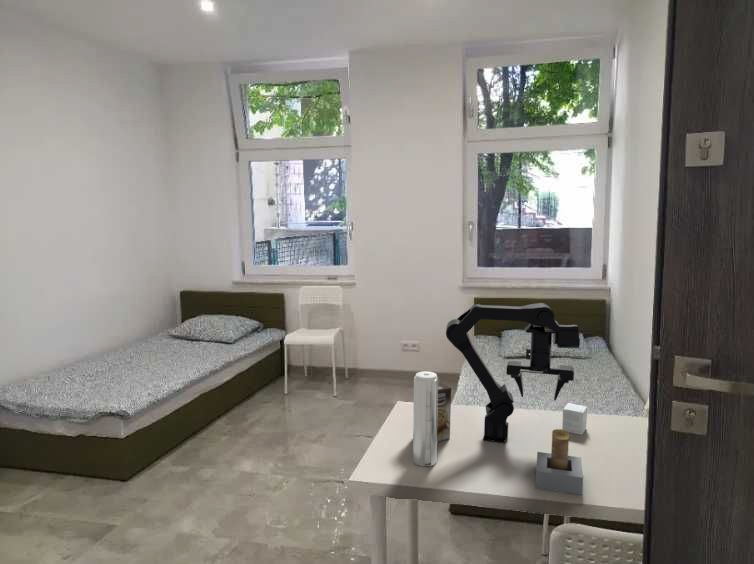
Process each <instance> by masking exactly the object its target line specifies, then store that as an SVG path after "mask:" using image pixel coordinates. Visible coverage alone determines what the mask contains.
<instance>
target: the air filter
mask: <svg viewBox="0 0 754 564" xmlns="http://www.w3.org/2000/svg"><path fill="white" fill-rule="evenodd" d="M438 383H439V377H438V375H437V373H436V372H433V371H419V372H416V374H415V376H414V377H413V413H412V414H413V415H412V416H413V417H412V419H413V420H412V421H413V423H412V425H413V426H412V430H413V431H412V432H413V433H412V434H413V435H412V461H413V463H414V464H415V465H416V466H418V465H419V467H423V466H429V467H432V465H433V466H435V465H436V464H437V457H438V455H437V454H438V452H437V451H438V442H437V412H438ZM435 463H436V464H435Z"/></svg>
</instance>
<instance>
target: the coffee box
mask: <svg viewBox="0 0 754 564" xmlns="http://www.w3.org/2000/svg"><path fill="white" fill-rule="evenodd" d="M451 404H452V388H451V387H450V386H448V385H446V384H444V383H442V382H440V381H438V412H437V441H439V442H442V441H441V440H443V441H446V439H447V440H450V439H451V411H452V410H451V409H452V408H451V407H452V405H451ZM449 438H450V439H449Z"/></svg>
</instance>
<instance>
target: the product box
mask: <svg viewBox="0 0 754 564" xmlns="http://www.w3.org/2000/svg"><path fill="white" fill-rule="evenodd" d="M587 418H588V406H585V405H580V404H574V403H570V402H568V403H567V404H566V405H565V406H564V407H563V409H562V423H561V424H562V426H561V427H562V429H561V430H565V431H567V432H569V434H570V433H571V434H575V435H581V436H583V435H584V432H585V431H586V429H587V422H588V421H587Z"/></svg>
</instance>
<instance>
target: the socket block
mask: <svg viewBox="0 0 754 564" xmlns="http://www.w3.org/2000/svg"><path fill="white" fill-rule="evenodd" d="M582 461H583V460H582V457H581V456H575V455H574V456H573V455H572V456H571V455H568V463H567V471H565V470H558V469H551V452H542V451H537V454H536V468H535V469H536V470H535V471H536V472H535V489H539V488H540V489H539V490H547V491H553V492H561V493H566V494H574V495H581V496H583V486H584V475H583V474H584V472H583V465H582V464H583V463H582Z"/></svg>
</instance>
